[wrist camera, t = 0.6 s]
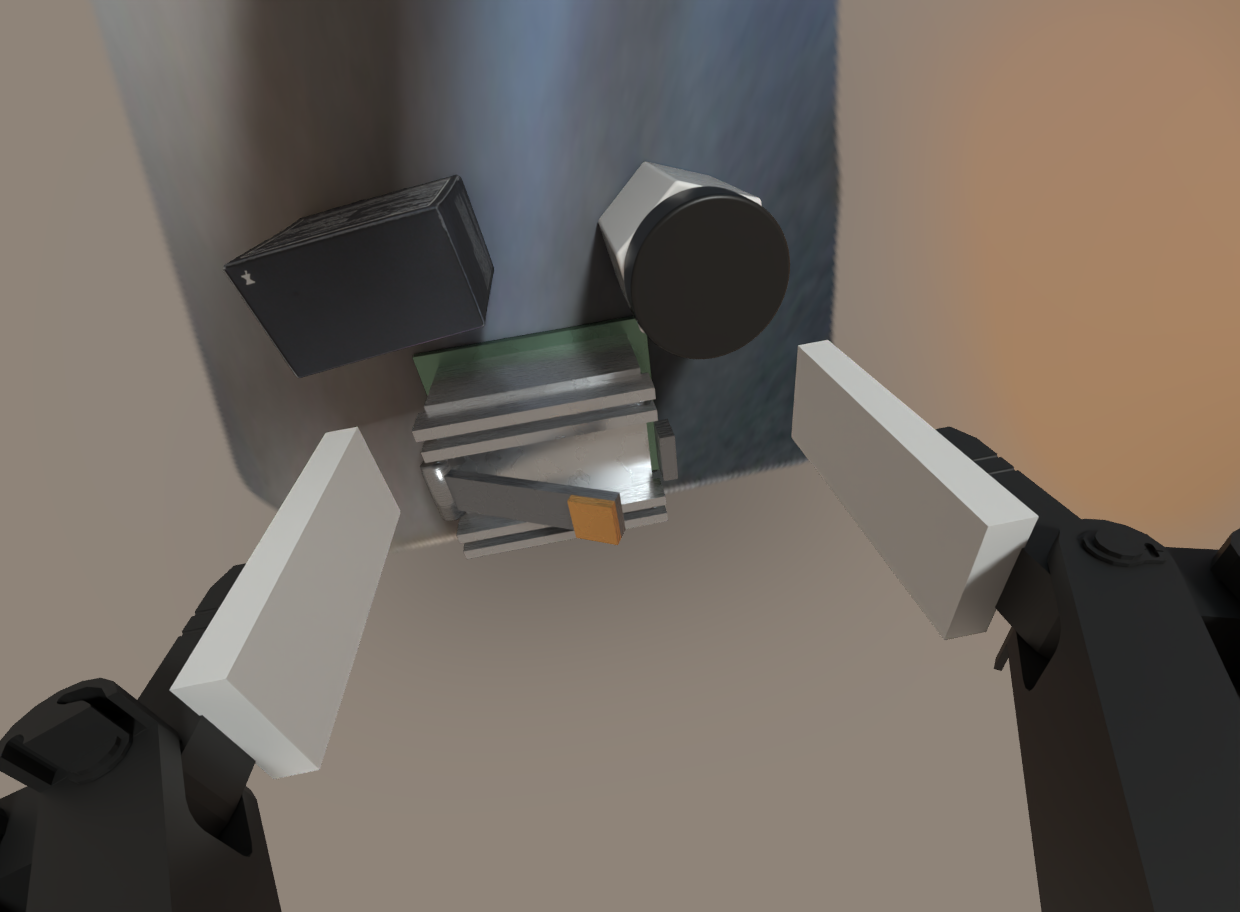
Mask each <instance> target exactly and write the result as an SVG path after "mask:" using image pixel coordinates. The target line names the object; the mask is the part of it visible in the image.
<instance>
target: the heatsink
mask: <svg viewBox="0 0 1240 912" xmlns="http://www.w3.org/2000/svg"><path fill="white" fill-rule="evenodd" d="M413 360H414V363H415V365H416V368H417V370H418V373H419V376H420V378H421V381H422V383H423V386H424V388H425V391H426V394H427V399H426V402H425V405H424V408H425V411H426V412H423V413H418V416H417V418H416V421H415V424H414V427H413V429H412V433H413V435H414V438H415V440H416V442H421V441H424V445H423V448H422V451H421V454H422V456H423V459H424V461H425V463H429V462H434V461H440V460H445V459H448V461H449V464H450V466H451V469H454V470H461V471H468V472H476V473H483V474H490V475H497V476H505V477H512V478H519V479H526V480H533V481H541V482H548V483H555V484H562V485H570V486H577V487H584V488H591V489H599V490H606V491H613V492H620V498H621V504H622V510H623V517H624V523H625V529H629V528H634V527H639V526H644V525H650V524H655V523H660V522H665V521H668V518H667V511H666V508H665V505H666V498H665V494H664V491H663V488H662V484H661V481H660V478H656V479H653V477H652V470H657V469H660V471H661V474H662V477H663V480H664V481H667V480H672V479H678V473H677V461H676V448H675V436H674V433H673V431H672V429H671V426H670V424H669V421H668V419H665V420H659V421H658V416H657V409H656V407H655V404H654V400H653V399H656V396H655V387H654V385H653V383H652V380H651V371H650V361H649V352H648V342H647V335H646V334H645V333H642V332H641V331H640V329H639V327H638V325H637V322H636V320H635V318H634V316H631V317H625V318H619V319H613V320H608V321H602V322H596V323H591V324H585V325H579V326H573V327H568V328H562V329H556V330H550V331H545V332H539V333H533V334H527V335H522V336H516V337H510V338H504V339H499V340H493V341H487V342H482V343H476V344H470V345H464V346H459V347H453V348H447V349H441V350H436V351H430V352H424V353H418V354H414V355H413ZM466 513H467V514H464V515H463V516H462V517H461V518H459V524H458V530H457V538H458V540H459V543H460V544H462V543H465V544H464V550H463V552H464V554H465V557H466V559H471V558H476V557H482V556H487V555H492V554H497V553H502V552H508V551H513V550H518V549H524V548H529V547H534V546H539V545H545V544H550V543H555V542H560V541H565V540H571V539H576V535H575V531H574V530H571V529H565V528H559V527H553V526H548V525H542V524H536V523H530V522H524V521H518V520H512V519H506V518H501V517H495V516H489V515H483V514H477V513H471V512H466Z"/></svg>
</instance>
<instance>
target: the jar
mask: <svg viewBox="0 0 1240 912" xmlns="http://www.w3.org/2000/svg"><path fill="white" fill-rule="evenodd" d="M598 223H599V226H600V229H601V232H602V235H603V238H604V241H605V244H606V247H607V250H608V253H609V256H610V259H611V262H612V265H613V268H614V271H615V274H616V277H617V280H618V283H619V285H620V287H621V290H622V292H623V294H624V296H625V298H626V301H627V303H628V305H629V307H630V309H631V311H632V314H633V316H634V318H635V320H636V322H637V325H638V327H639V329H640V331H641V332H642V333H645V334H646V335H647V336H648V337H649V338H650V339H651V340H652V341H653V342H654V343H655V344H656V345H658V346H659V347H660V348H662V349H663V350H665V351H667V352H669V353H671V354H674V355H676V356H680V357H684V358H689V359H710V358H715V357H720V356H723V355H726V354H729V353H731V352H733V351H736V350H738V349H739V348H741V347H743V346H745V345H746V344H747V343H749V342H750V341H752V340H753V339H754V338H755V337H757V336H758V335H759V334H760V333H761V332H762V331H763V330H764V329H765V327H766V326H767V325H768V324H769V323H770V321H771V320H772V319H773V317H774V316H775V314H776V312H777V311H778V309H779V307H780V305H781V303H782V300H783V298H784V295H785V292H786V289H787V285H788V281H789V274H790V256H789V249H788V245H787V241H786V239H785V236H784V233H783V232H782V230H781V228H780V226H779V224H778V223H777V221H776V220H775V218H774V217H773V216H772V215H771V214H770V213H769V212H768V211H767V210H766V209H765V208H764V207H762V204H761V200H760V199H759V198H757V197H755V196H753V195H751V194H749V193H746V192H744V191H742V190H740V189H738V188H735V187H733V186H731V185H729V184H726V183H724V182H722V181H720V180H718V179H715V178H713V177H711V176H708V175H704V174H699V173H695V172H690V171H686V170H681V169H677V168H672V167H668V166H663V165H659V164H654V163H650V162H644V163H642V164H641V166H640V167H639V168H638V170H637V171H636V172H635V174H634V175H633V176H632V178H631V179H630V180H629V181H628V183H627V184H626V185H625V187H624V188H623V189H622V190H621V192H620V193H619V194H618V196H617V197H616V198H615V199H614V201H613V202H612V203H611V205H610V206H609V207H608V208H607V210H606V211H605V212H604V214H603V215H602V216H601V217H600V219H599V221H598Z"/></svg>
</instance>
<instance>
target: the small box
mask: <svg viewBox="0 0 1240 912" xmlns="http://www.w3.org/2000/svg"><path fill="white" fill-rule="evenodd" d="M223 271H224V273H225V274H226V275H227V277H228V278H229V280H230V281H231V282H232V284H233V285H234V287H235V288H236V289H237V291H238V292H239V294H240V295H241V297H242V298H243V300H244V301H245V303H246V304H247V306H248V307H249V309H250V310H251V312H252V313H253V314H254V316H255V317H256V319H257V320H258V322H259V323H260V325H261V326H262V327H263V329H264V331H265V332H266V334H267V335H268V336H269V338H270V339H271V341H272V342H273V344H274V345H275V347H276V348H277V350H278V351H279V352H280V354H281V355H282V357H283V358H284V360H285V361H286V363H287V364H288V365H289V367H290V368H291V370H292V371H293V373H294V374H295V376H297V377H298V378H301V377H305V376H309V375H312V374H316V373H320V372H323V371H326V370H330V369H333V368H337V367H340V366H344V365H347V364H351V363H354V362H358V361H361V360H365V359H368V358H372V357H375V356H379V355H382V354H386V353H390V352H393V351H397V350H400V349H404V348H408V347H411V346H415V345H419V344H422V343H426V342H429V341H433V340H437V339H440V338H444V337H448V336H451V335H455V334H459V333H463V332H466V331H470V330H474V329H477V328H481V327H483V326H484V324H485V316H486V311H487V305H488V299H489V293H490V288H491V282H492V277H493V273H494V267H493V264H492V261H491V258H490V256H489V253H488V250H487V247H486V244H485V242H484V239H483V236H482V233H481V231H480V228H479V225H478V222H477V219H476V217H475V214H474V211H473V208H472V206H471V203H470V200H469V197H468V195H467V192H466V189H465V186H464V183H463V181H462V179H461V177H460V176H458V175H454V176H451V177H448V178H444V179H440V180H436V181H432V182H429V183H425V184H421V185H418V186H415V187H411V188H405V189H403V190H400V191H396V192H393V193H389V194H385V195H382V196H379V197H374V198H371V199H367V200H361V201H359V202H356V203H351V204H349V205H345V206H342V207H337V208H335V209H331V210H328V211H325V212H322V213H318V214H315V215H312V216H308V217H304V218H300V219H299V220H298V221H296V222H295V223H293V224H292V225H291V226H289V227H287V228H286V229H285V230H283V231H281V232H280V233H279V234H277V235H275V236H274V237H272V238H271V239H269V240H266V241H264V242H263V243H261V244H259V245H257V246H256V247H254V248H253V249H250V250H249V251H247V252H245V253H244V254H242V255H240V256H239V257H237V258H235V259H234V260H232V261H230V262H229V263H227V264H226V265H224V267H223Z"/></svg>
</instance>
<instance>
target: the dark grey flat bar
mask: <svg viewBox="0 0 1240 912" xmlns="http://www.w3.org/2000/svg"><path fill="white" fill-rule="evenodd" d="M420 468H421V470H422V475H423V477H424V479H425V481H426V484H427V486H428V488H429V490H430V493H431V495H432V497H433V500H434V502H435V504H436V506H437V507H438V509H439V511H440V514H441V516H442V518H443V519H444V520H446V521H453V520H457V519H459V518H461V517H462V516H463V515H464V514H465V513H466V512H471V513H477V514H483V515H489V516H495V517H501V518H506V519H512V520H518V521H524V522H530V523H536V524H542V525H548V526H553V527H559V528H565V529H571V530H574V531H575V535H576V538H581V539H587V540H592V541H598V542H604V543H610V544H615V545H618V544H619V541H620V540H621V538H622V535H623V533H624V531H625V523H624V517H623V510H622V504H621V498H620V492H613V491H606V490H599V489H591V488H584V487H577V486H570V485H562V484H555V483H548V482H541V481H533V480H526V479H519V478H512V477H505V476H497V475H490V474H483V473H476V472H468V471H461V470H454V469H451V466H450V464H449V461H448V459H445V460H440V461H434V462H429V463H425V461H423V462H422V464H421V466H420Z"/></svg>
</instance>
